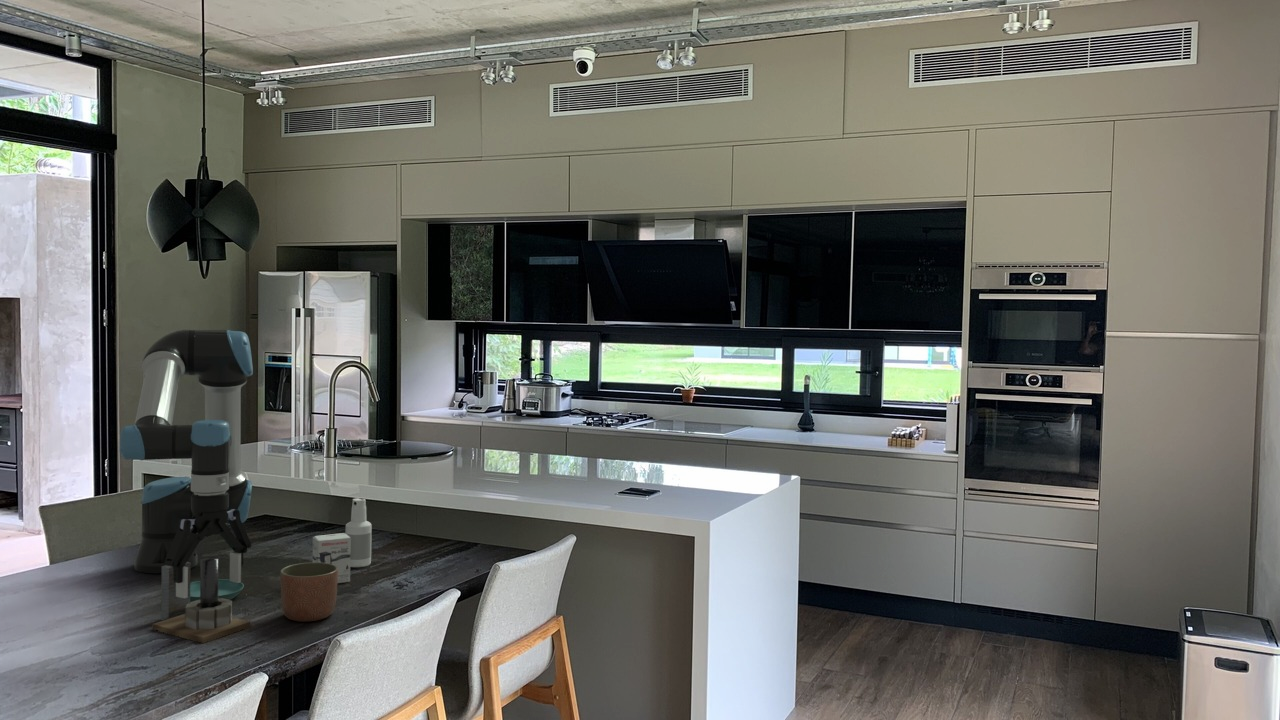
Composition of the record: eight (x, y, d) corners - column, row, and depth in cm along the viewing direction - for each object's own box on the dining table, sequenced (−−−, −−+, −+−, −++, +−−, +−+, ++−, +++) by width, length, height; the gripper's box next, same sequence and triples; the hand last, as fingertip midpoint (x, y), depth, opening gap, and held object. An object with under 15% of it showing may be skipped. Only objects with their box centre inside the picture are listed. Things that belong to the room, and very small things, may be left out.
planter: (304, 629, 210) (305, 580, 209) (268, 618, 216) (268, 570, 216) (348, 614, 220) (349, 568, 220) (312, 604, 227) (313, 559, 226)
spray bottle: (339, 565, 261) (340, 500, 260) (356, 560, 267) (356, 496, 267) (360, 568, 259) (361, 502, 258) (376, 563, 265) (377, 498, 264)
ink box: (316, 586, 242) (317, 540, 241) (311, 581, 246) (312, 535, 245) (350, 581, 246) (351, 536, 246) (345, 577, 251) (345, 532, 250)
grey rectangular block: (168, 621, 212) (168, 568, 211) (161, 619, 213) (161, 566, 212) (190, 614, 217) (190, 562, 216) (183, 613, 218) (183, 560, 217)
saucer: (210, 611, 221) (211, 599, 221) (162, 602, 226) (162, 591, 226) (257, 594, 234) (257, 583, 234) (210, 586, 240) (210, 576, 239)
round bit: (196, 623, 208) (197, 559, 207) (210, 618, 211) (211, 555, 210) (207, 626, 206) (208, 561, 206) (221, 621, 209) (222, 558, 209)
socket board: (152, 629, 206) (152, 605, 206) (200, 614, 217) (200, 592, 217) (203, 643, 199) (203, 618, 199) (250, 627, 210) (250, 603, 210)
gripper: (170, 503, 194) (169, 606, 195) (268, 485, 217) (267, 578, 218) (146, 499, 198) (145, 600, 199) (245, 482, 220) (244, 573, 221)
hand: (209, 589), depth 208 cm, fingers open, 13 cm apart
